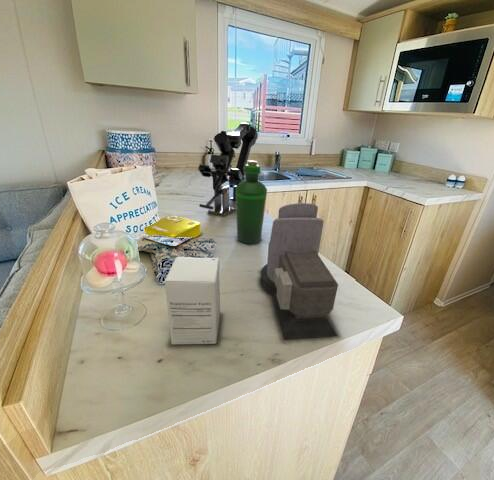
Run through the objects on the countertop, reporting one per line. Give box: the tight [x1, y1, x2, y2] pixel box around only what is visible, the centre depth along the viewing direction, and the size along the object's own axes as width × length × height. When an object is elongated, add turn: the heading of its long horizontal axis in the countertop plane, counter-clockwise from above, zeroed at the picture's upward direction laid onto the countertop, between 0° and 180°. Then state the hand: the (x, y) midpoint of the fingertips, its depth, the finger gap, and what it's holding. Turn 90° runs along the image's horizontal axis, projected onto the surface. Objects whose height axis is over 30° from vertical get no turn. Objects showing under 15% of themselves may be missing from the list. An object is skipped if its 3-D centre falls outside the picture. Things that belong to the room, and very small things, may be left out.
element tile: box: [144, 214, 202, 239], centre depth 97 cm, size 15×15×5 cm
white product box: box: [164, 256, 221, 345], centre depth 55 cm, size 9×9×15 cm
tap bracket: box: [207, 185, 236, 217], centre depth 123 cm, size 10×8×12 cm
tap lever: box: [198, 185, 225, 210], centre depth 117 cm, size 15×6×2 cm, turn 159°
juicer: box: [260, 202, 339, 341], centre depth 66 cm, size 30×16×24 cm, turn 10°
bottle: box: [235, 159, 268, 245], centre depth 95 cm, size 11×11×28 cm
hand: (214, 189), depth 115 cm, fingers closed
